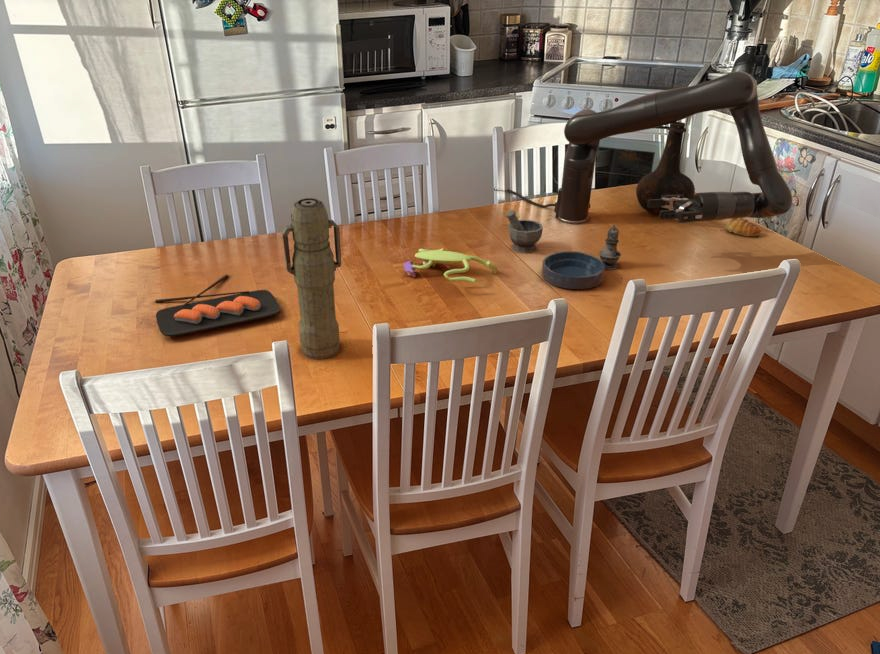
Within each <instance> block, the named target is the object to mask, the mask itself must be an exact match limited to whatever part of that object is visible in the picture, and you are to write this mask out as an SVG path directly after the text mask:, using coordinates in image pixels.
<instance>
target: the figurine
mask: <svg viewBox="0 0 880 654" xmlns="http://www.w3.org/2000/svg"><path fill="white" fill-rule="evenodd" d="M414 257H415V258H416V259H418V260H421V261H422V265H416V264H414V263H415V262H414V261H413V260H408V261H406V262H403V263H402V266H403V268H404V271H405V273H406V275H407V277H412V278H416V277H417V276H418V272H417V271H416V270H426V269H429V268H430V267H432V268H434V267H435V266H436V265H437V264H442V265H443V266H445V267H446V268H447V269H448V270H446V271H445V272H444V273H443V276H444V278H445V279H447V280H448V281H450V282H457V283H458V282H468V283H471V284H474V285H475V284H476V283H477V279H475V278H473V277H469V276H456V277H449V276H450V275H454V274H463V273H464V274H465V273H467V272H469V270H470V264H469V262H470V261H475V262H477V263H480V264H482V265H483V266H485V267H486V268H487V269H489V270H492V271H493V274H497V273H498V272H499V271H498V268H497V266H496V265H495V264H494V263H492V261H490V260H484V259H482V258H481V257H478V256H475V255H468V254H465V253H461V252H458V251H457V252H456V251H449V250H444V247H442V248H439V249H425V248H419V249H418V251H417V252H416V253H415V254H414ZM448 264H463V265H464V267H463V268H453V269H452V267H450V265H448Z"/></svg>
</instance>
